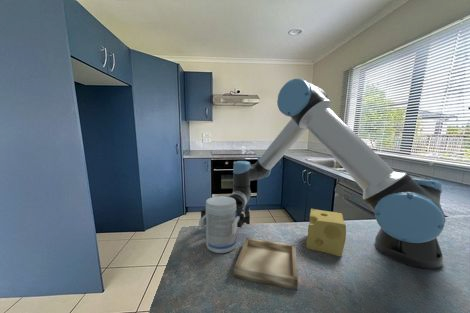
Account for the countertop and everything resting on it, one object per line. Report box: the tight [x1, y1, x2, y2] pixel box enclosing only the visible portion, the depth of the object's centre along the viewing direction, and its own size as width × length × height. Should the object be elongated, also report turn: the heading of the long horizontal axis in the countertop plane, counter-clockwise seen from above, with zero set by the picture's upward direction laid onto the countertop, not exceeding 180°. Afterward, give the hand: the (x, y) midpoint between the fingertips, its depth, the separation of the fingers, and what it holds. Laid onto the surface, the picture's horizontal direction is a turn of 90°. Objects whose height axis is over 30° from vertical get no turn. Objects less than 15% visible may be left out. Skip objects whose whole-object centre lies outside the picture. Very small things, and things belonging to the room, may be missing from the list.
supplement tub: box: [205, 195, 237, 254], centre depth 60 cm, size 10×10×15 cm
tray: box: [233, 237, 299, 291], centre depth 52 cm, size 15×15×2 cm
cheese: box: [305, 208, 347, 257], centre depth 62 cm, size 10×11×10 cm
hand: (216, 227), depth 56 cm, fingers closed on supplement tub, 9 cm apart
